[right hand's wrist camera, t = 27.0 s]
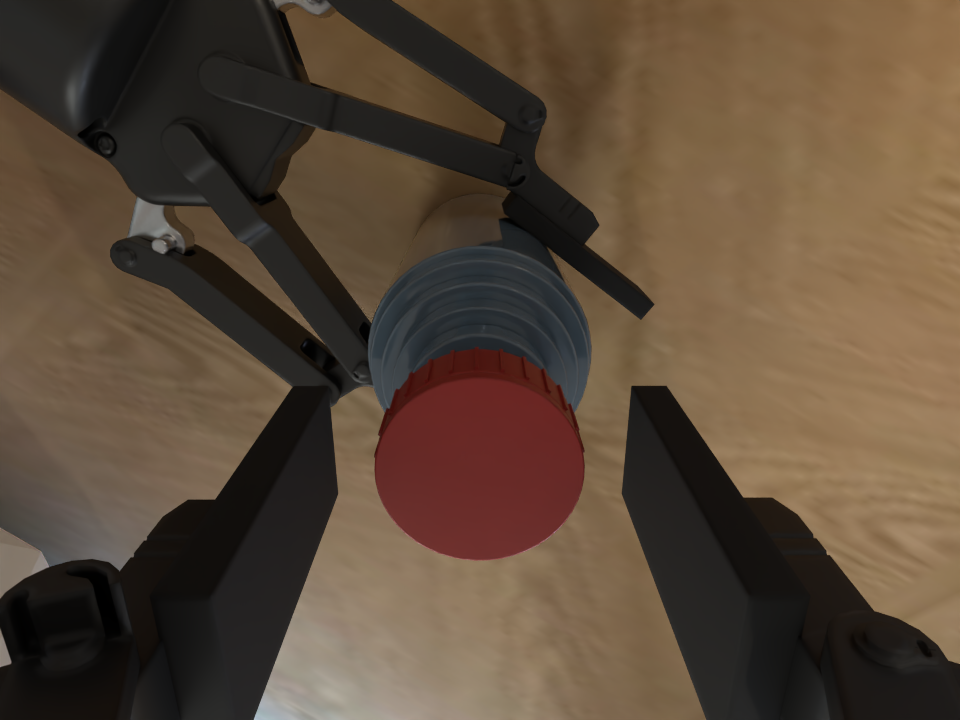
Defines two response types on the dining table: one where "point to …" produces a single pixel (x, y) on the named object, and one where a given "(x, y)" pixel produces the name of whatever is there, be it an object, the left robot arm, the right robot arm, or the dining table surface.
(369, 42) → the dining table surface
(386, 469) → the cap
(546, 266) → the bottle
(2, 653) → the sphere
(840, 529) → the dining table surface
